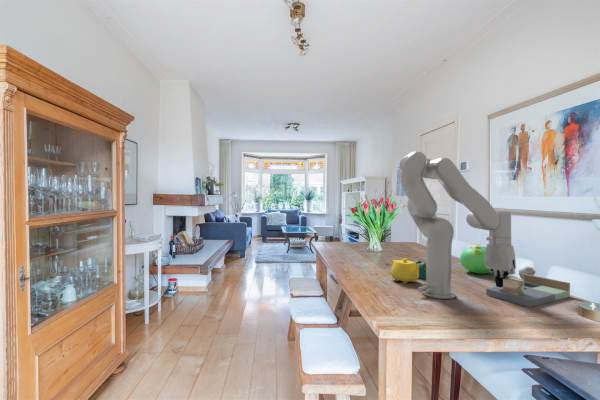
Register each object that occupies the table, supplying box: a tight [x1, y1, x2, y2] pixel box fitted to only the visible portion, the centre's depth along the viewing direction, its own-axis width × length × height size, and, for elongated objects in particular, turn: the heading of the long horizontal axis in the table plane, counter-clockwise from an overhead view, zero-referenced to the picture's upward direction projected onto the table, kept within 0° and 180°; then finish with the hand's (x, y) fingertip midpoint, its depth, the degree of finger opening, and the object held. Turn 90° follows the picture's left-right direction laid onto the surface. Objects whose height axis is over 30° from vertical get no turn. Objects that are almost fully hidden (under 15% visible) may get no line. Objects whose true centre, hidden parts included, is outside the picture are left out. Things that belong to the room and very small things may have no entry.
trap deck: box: [485, 274, 571, 308], centre depth 124 cm, size 28×16×6 cm, turn 116°
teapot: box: [390, 258, 420, 285], centre depth 146 cm, size 18×11×11 cm, turn 28°
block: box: [503, 277, 524, 295], centre depth 120 cm, size 5×5×5 cm
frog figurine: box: [518, 266, 536, 281], centre depth 147 cm, size 6×7×7 cm
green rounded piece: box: [459, 244, 492, 274], centre depth 162 cm, size 18×17×15 cm
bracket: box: [413, 260, 426, 280], centre depth 157 cm, size 18×7×8 cm, turn 113°
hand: (500, 286), depth 125 cm, fingers closed
